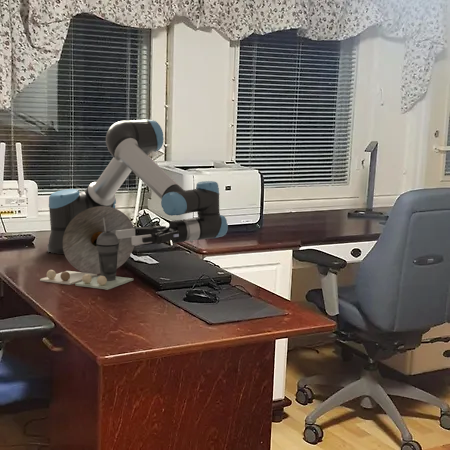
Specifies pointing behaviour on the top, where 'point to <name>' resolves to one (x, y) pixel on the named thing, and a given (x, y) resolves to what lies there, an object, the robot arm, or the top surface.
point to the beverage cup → (108, 253)
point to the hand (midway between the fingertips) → (123, 237)
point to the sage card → (108, 284)
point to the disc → (94, 237)
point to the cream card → (71, 280)
